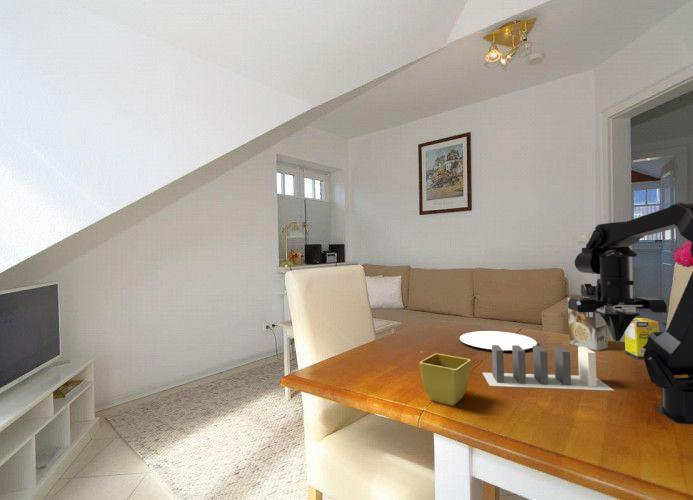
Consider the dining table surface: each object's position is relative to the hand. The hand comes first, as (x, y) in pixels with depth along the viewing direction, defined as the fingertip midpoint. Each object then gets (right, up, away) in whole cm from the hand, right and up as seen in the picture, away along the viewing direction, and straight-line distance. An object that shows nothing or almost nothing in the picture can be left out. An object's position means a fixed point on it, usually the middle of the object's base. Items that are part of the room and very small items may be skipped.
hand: (616, 340), depth 84 cm
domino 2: (-21, -11, +4) cm, 24 cm away
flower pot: (-42, -12, -5) cm, 44 cm away
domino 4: (-11, -11, +2) cm, 16 cm away
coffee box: (+15, -10, +32) cm, 37 cm away
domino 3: (-16, -11, +3) cm, 20 cm away
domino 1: (-26, -11, +5) cm, 29 cm away
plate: (-12, -12, +39) cm, 42 cm away
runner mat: (-16, -11, +3) cm, 20 cm away
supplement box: (+23, -10, +20) cm, 33 cm away
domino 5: (-6, -10, +1) cm, 12 cm away
